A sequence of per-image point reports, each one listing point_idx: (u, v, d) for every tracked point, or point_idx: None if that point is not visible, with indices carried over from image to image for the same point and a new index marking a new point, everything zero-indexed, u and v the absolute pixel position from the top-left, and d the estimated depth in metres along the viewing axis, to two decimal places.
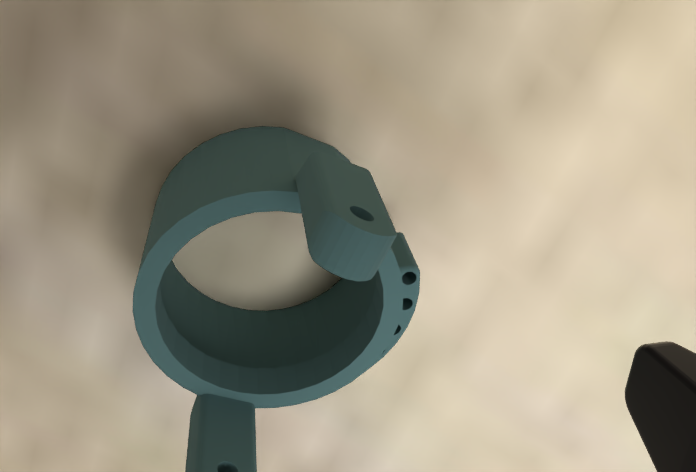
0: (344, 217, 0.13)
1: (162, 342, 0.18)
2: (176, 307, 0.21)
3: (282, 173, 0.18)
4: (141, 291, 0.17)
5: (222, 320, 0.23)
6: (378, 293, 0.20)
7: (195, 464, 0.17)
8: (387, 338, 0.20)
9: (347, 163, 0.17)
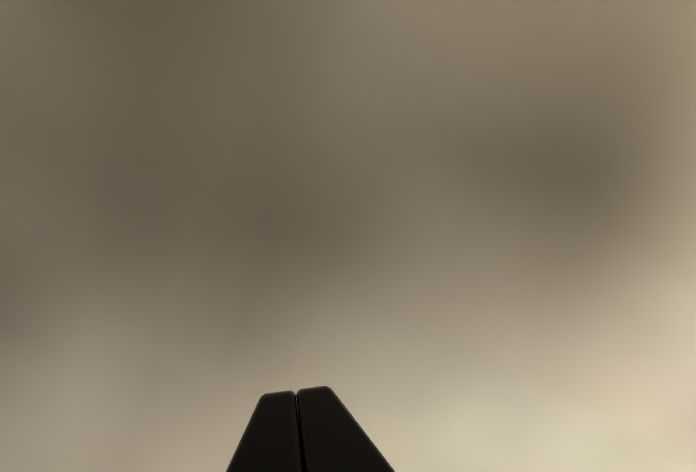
0: None
1: None
2: None
3: None
4: None
5: None
6: None
7: None
8: None
9: None
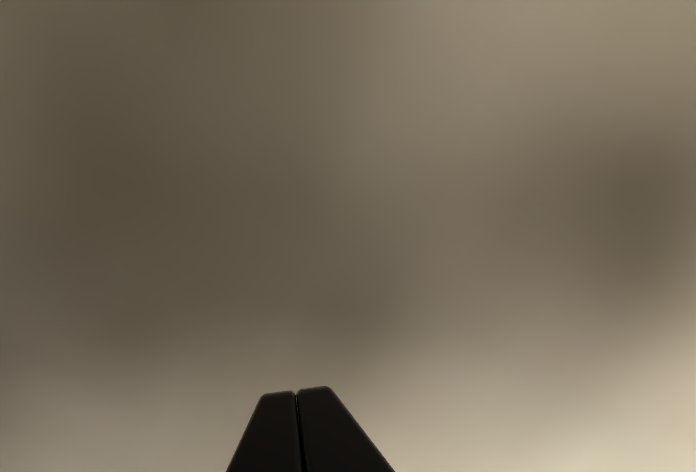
0: None
1: None
2: None
3: None
4: None
5: None
6: None
7: None
8: None
9: None
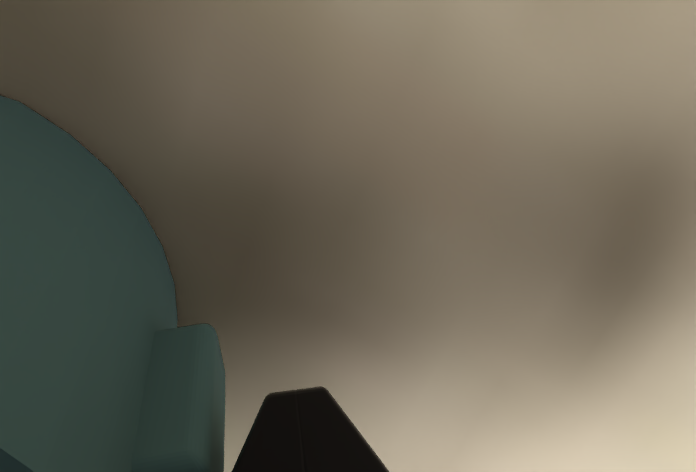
0: None
1: None
2: None
3: None
4: None
5: None
6: None
7: None
8: None
9: None
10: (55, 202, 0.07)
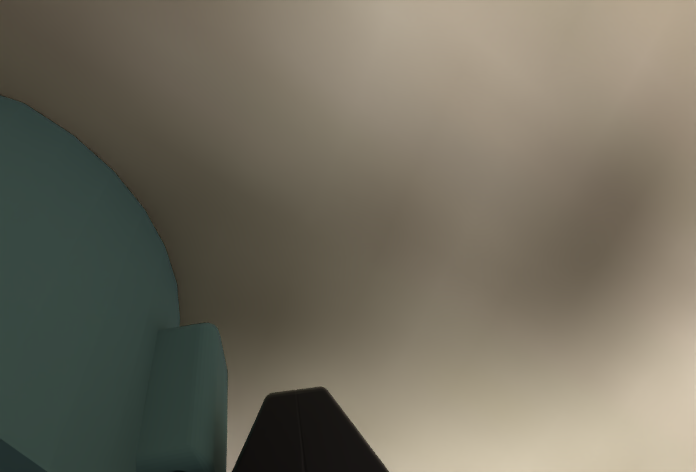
0: None
1: None
2: None
3: None
4: None
5: None
6: None
7: None
8: None
9: None
10: (59, 202, 0.07)
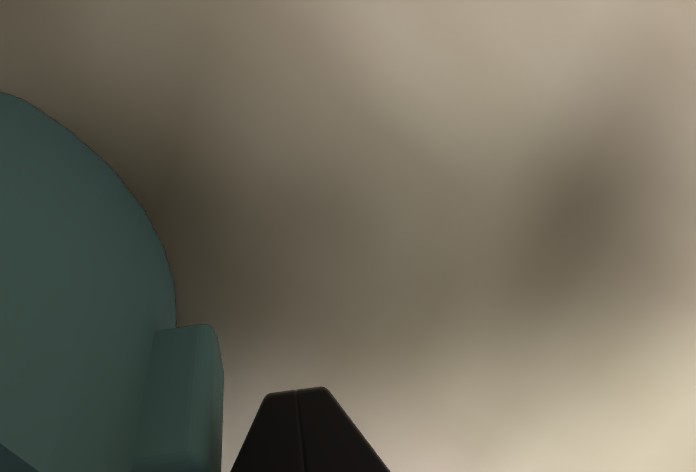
0: None
1: None
2: None
3: None
4: None
5: None
6: None
7: None
8: None
9: None
10: (58, 201, 0.07)
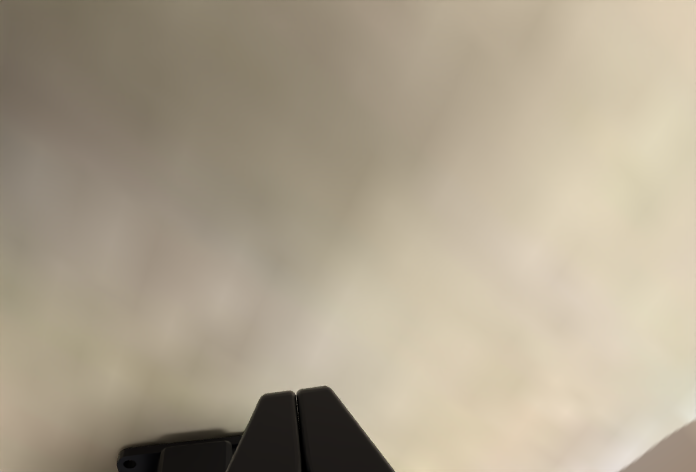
0: None
1: None
2: None
3: None
4: None
5: None
6: None
7: None
8: None
9: None
10: None
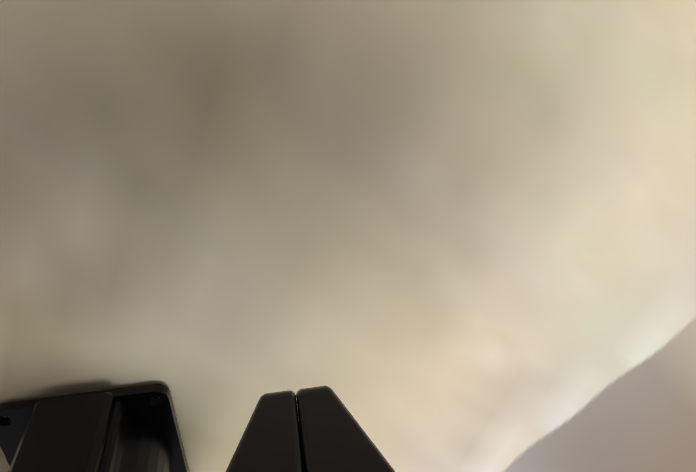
0: None
1: None
2: None
3: None
4: None
5: None
6: None
7: None
8: None
9: None
10: None
